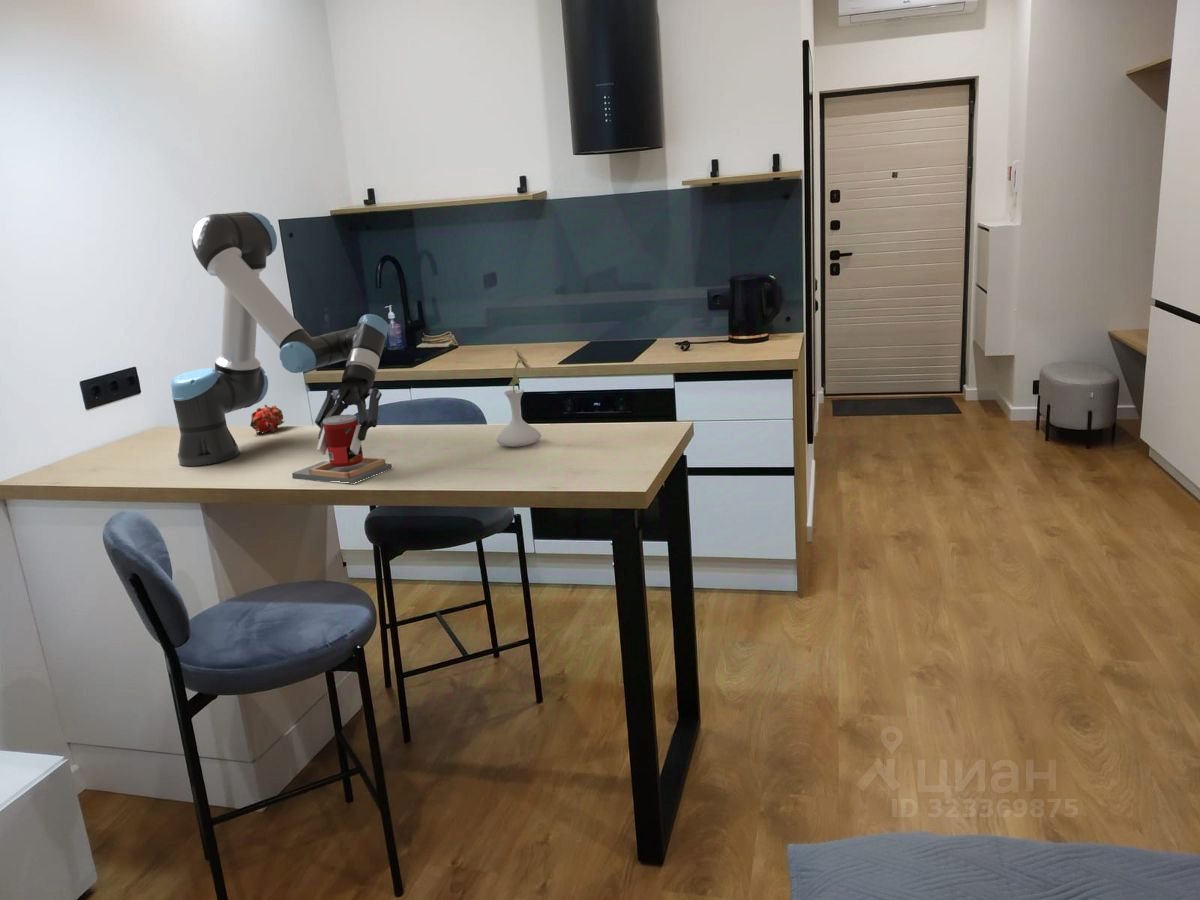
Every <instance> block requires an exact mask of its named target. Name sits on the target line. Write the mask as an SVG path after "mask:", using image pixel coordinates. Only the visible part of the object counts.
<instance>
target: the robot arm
mask: <svg viewBox="0 0 1200 900" xmlns="http://www.w3.org/2000/svg"><path fill="white" fill-rule="evenodd" d="M276 232H277V231H276V229H275V228H274V226H273V225H272V224H271V221H270V220H269V219H268V218H267V217H266V216H264V215H263V214H262V213H258V212H254V211H250V212H249V211H241V212H239V211H238V212H237V211H236V212H227V213H213V214H209V215H206V216H204V217H202V218H201V219H200V220H198V222H197V223H196V224H195V225H194V227H193V230H192V234H191V245H192V246H191V247H192V250H193V252H194V254H195V257H196V259H197V260H198V262H199V264H200V265H201V266H202V267H203V269H204V270H205V271H206V272H207V273H208V274H209V276H213V277H217V278H218V279H219V281H220V282H221V283H222V284H223V286H224V287H223V306H222V307H223V308H222V330H221V331H222V332H221V333H222V335H221V354H220V355H218V356H217V357H215V360H214V368H211V367H207V368H198V369H195V370H190V371H186V372H184V373H181V374H179V375H177V376H176V377H174V378H173V379H172V380H171V384H170V387H171V398H172V400H173V405H174V408H175V409H174V410H175V412H176V418H177V422H178V428H179V433H180V436H179V438H180V439H179V444H178V445H179V446H178V453H177V458H178V464H179V465H180V466H185V467H199V466H205V465H206V466H208V465H212V463H213V464H218V463H221V462H225V461H229V460H231V459H233V458H236V457H238V456H239V455H240V451H239V445H238V444H237V442H236V440H235V439H234V436H233V435H232V433H231V432H230V429H229V427H228V425H227V421H226V414H228V413H232V412H235V411H238V410H241V409H247V408H250V407H252V406H254V405H256V404H258V403H260V402H262V400H263V399H264V398H265V397H266V395H267V392H268V389H269V380H268V379H269V378H268V375H266V371H265V370H264V368H263V367H262V366H261V362H260V360H258V358H256V348H257V347H256V343H257V326H258V325H259V327H260V328H261V329H263V331H264V332H265V334H267V336H269V338H270V339H271V341H273V343H274V344H276V346H277V347H278V348H279V349H280V351H279V360H280V362H281V365H282V367H283V368H284V369H285V370H286V371H287V372H289V373H292V374H298V373H306V372H309V371H312V370H313V369H317V368H320V367H325V366H328V365H331V364H336V363H339V362H343V361H346V364H345V367H344V370H343V374H342V378H341V385H340V386H339V388H338V389H334V390H332V389H331V388H328V389H327V390H326V396H325V399H324V401H323V403H322V405H321V408H320V410H319V412H318V414H317V415H316V418H315V420H314V424H315V425H316V426H318V427H319V431H318V435H317V436H318V437H317V438H318V444H317V446H316V447H317V448H316V450H317V451H318V452H319V453H320V454H321V455H323V456H326V455H327V451H328V449H327V443H326V437H325V431H324V425H323V420H324V419H326V418H328V417H332V416H337V415H342V413H343V412H344V411H345V410H347V408H349V407H350V406H356V407H357V413H358V419H359V420H358V425H356V429H355V432H354V436H353V439H352V443H351V447H350V450H351V451H352V452H353V453H354V454H355V455H358V453H359V449H360V445H361V446H362V441H363V442H364V441H365V440H366V437H367V433H368V430H369V429H370V428H376V427H377V426H378V416H379V415H378V414H379V405H380V404H379V403H380V399H381V397H382V392H381V391H380V390H379V389H378V388H377V387H374V382H375V379H376V375H377V371H378V368H379V365H380V360H381V357H382V354H383V351H384V347H385V343H386V341H387V336H388V332H389V331H388V330H389V325H388V322H387V321H386V320H385V319H384V318H382V317H381V316H379V315H377V314H373V313H372V314H371V313H367V314H364V315H362V316H361V317H360V318H359V320H358V322H357V325H356V326H353V327H350V328H348V329H347V328H346V329H342V330H341V329H340V330H337V331H331V332H327V333H324V334H322V335H318V336H311V335H310V334H309V333H308V332H307V330H306V329H304V327H303V326H302V325H301V324H300V323H299V322H298V321H297V319H296V318H295V317H294V316H293V315H292V314H291V313H290V312H289V311H288V309H287V308H286V306H284V304H283V303H282V302H281V301H280V300H279V299H278V297H276V295H275V294H274V293H273V292H272V291H271V290H270V288H269V287H268V286H267V285H266V283H264V281H263V280H262V279H261V278H260V274H261V272H263V270H265V269H266V268H267V258H268V257H269V256H271V255H272V254H273V253H274V252H275V250H276V248H277V245H278V244H277V243H278V239H277V237H278V236H277V233H276ZM373 387H374V388H373ZM368 398H369V403H368V412H367V403H366V399H368ZM207 464H208V465H207Z"/></svg>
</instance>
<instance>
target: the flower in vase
mask: <svg viewBox="0 0 1200 900" xmlns="http://www.w3.org/2000/svg"><path fill="white" fill-rule="evenodd" d="M512 349H513V352H514V353H515V355H516V357H517V362H516V364H515V367H514V369H513V372H512V379H511V380H510V382H509V384H508V386H510V387H512V389H511V390H510V389H509V390H505V391H504V392H503V393H504V395H505V396H506V397H507V399H508V401H509V404H510V408H511V409H510V410H511V421H510V422H509V423H508V424H507V426H506V427H504V428H503V430H501V431H500V432H499V434H497V437H496V442H497V443H498V444H499V445H500V446H504V447H510V448H513V447H514V448H515V447H516V448H517V447H524V446H529V445H532V444H535V443H536V442H538V441H540V439H541V438H542V435H541V433H540V432H539V431H538V430H537V429H536V428H535V427H534V426H533V425H530V424H529V423H528V422H526V421H525V420H524V419H523V418H522V414H521V413H522V412H521V400H522V395H523V394H524V389H515V386H516V385H518V384H520V383H521V380H520V379H519V377H518V375H516V374H515V373H516V369H517V367H518V364H519V363H521V365H522V366H523V368H524V369H525V370H526V371H527V372H529V373H531V372H532V367H531V366H530V365H529V363H528V360H527V358H526V357H524V356H523V353H522V351H521V350H519V349H518V347H517V345H513V346H512Z"/></svg>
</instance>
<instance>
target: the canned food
mask: <svg viewBox="0 0 1200 900" xmlns="http://www.w3.org/2000/svg"><path fill="white" fill-rule="evenodd" d="M323 425H324V431H325V437H326V443H327V455H328V459H329V460H330V463H331V465H332V466H335V467H346V466H352V465H356V464H359V463H361V462H362V461H363V457H364V455H363V447H362V444H361V445H360V449H359V453H358V455H355V454H354V453H353V452H352V451H351V450H350V447H351V443H352V439H353V436H354V432H355V429H356V425H359V420H358V418H357V415H356V414H341V415H337V416H332V417H328V418H326V419H324V420H323Z"/></svg>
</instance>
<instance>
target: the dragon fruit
mask: <svg viewBox="0 0 1200 900" xmlns="http://www.w3.org/2000/svg"><path fill="white" fill-rule="evenodd" d="M250 418H251V421H250V425H249V426H250V427H252V429H253V430H255V432H256V435H258V433H260V434H263V433H262V432H265V433H267V432H269V431H270V432H271V433H274V432H275V431H276V430H278V426H281V425H283V423H285V421H284V415H283V411H282V409H280V408H279V407H277V405H272V406H271V407H270V406H268V405H267V404H265V405H264V407H263V408H261V407H258V408H257V409H256V411H253V412H252V413H251V416H250ZM273 431H274V432H273Z"/></svg>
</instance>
